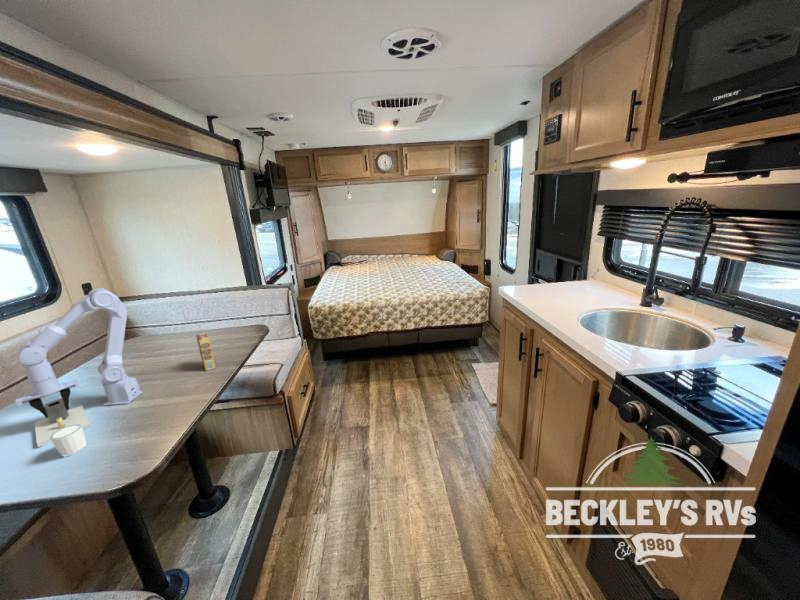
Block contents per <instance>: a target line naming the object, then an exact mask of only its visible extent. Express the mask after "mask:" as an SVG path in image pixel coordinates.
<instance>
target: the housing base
mask: <svg viewBox="0 0 800 600" xmlns="http://www.w3.org/2000/svg"><path fill="white" fill-rule="evenodd" d="M67 411H68V414H69V416H68V417H65V418H62V417H59V418H57V419H56V421H54V422H52V423H51V422H50V420H49V418H46V417H45V418H44V419H43V418H42V419H41V420H38V421H36V422H34V429H35V430H34V431H35V438H36V439H35V440H36V445H37V448H38V447H39V446H41V445H43V444H46V443H48V442H51V440H50V436H51V435H52V434H53V433H55V432H57V431H58V430H60V429H62V428H65V427H67V426H71V425H75V424H81V425H82V428H86V427H88V426H90V427H91V425H90V421H89V418H88V417H87V414H86V411H85V410H84V405H79V406H76V407H73V408H71V409H70V408H69V410H67ZM86 429H87V428H86Z"/></svg>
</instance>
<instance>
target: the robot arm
mask: <svg viewBox="0 0 800 600" xmlns="http://www.w3.org/2000/svg"><path fill="white" fill-rule="evenodd" d="M96 307H97V308H99V309H102V310H105V311H106V312H107V313H109V320H108V327H107V328H108V329H107V334H106V343H105V348H104V349H105V351H104V355H103V357H102V362H101V363H100V364H99V366H98V368H97V371H98V373H99V375H101V377H102V380H101V384H102V387H103V389H104V393H105V394H106V397H107V401H105V402H104V403H103V404H102V406H113V405H114V406H115V405H125V404H126V405H127V404H129V403H130V402H131V401H133V400H134V399H136V398H137V397H138V396H140V395H142V393H143V391H142V390H141V388H140V386H139V382H138V380H137V379H136V378H135V377H133V376H132V377H131V376H129V375H127V373H126V371H125V368H124V367H123V362H124V361H123V350H124V341H125V333H126V325H127V318H128V309H127V307H126V306H125V305H124V303H123V302H122V301H121V299H120V298H119V296H118V295H116V294H115V293H113V292H111V291H109V290H107V288H102V287H97V288H94V289H91V290H90V291H89V292H88V294H85V295H84V296H83V297H81V298H80V299H79V300H78V301H77V302H76V303H75V304H74V305H73V306H71V308H70V309H69V310H68V311H67V312H65V314H64V315H63V316H62V317H61V318H60V319H59V320H58V321H57V322H56V323H55V324H53V325H46V326H45V327H44V328H40V329H39V330H38V333H37V335H35V337H33V338H32V339H31V341H26V342H25V346H23V347H21V348H20V349H19V350H18V353H17V354H18V356H17V357H18V360H19V361H20V363H22V367H23V368H24V372H25V374H26V377H27V379H28V381H29V383H30V385H31V388H32V390H33V392H32V393H28V394H27V395H24V396H22V397H18V398H15V403H16V405H17V407H20V406H23V405H24V404H26V403H28V404H29V406H30V407H32V408H33V409H36V410H37V411H39V412H40V413H41V414H42V415H43V416H44V417H45V419H46V418H48V415H47V413H46V411H45V406H44V403H43V401H42V398H45V397H48V396H52V395H54V394H58V393H59V395H60V396H61V398H62V399H63V401H64V404H65V407H66V409H67V410H70V406H69V403H70V402H69V401H70V396H71V389H72V388H77V387H80V384H79V381H78V379H75V380H71V381H68V382H64V383H59V381H58V379H57V376H56V374H55V372H54V369H53V367H52V365H51V363H50V362H49V361H48V359H47V353H49V352H51V351H52V350H53V349H54V348H55V347H56V346H57V345H59V343H60V342H61V341H62V340H64V338H66V336H67V331H66V330H67V329H69V328H70V327H71V326H72V325H73V324H75V322H77V321H78V320H79V319H80V318H81V317H82V316H83V315H84V314H85V313H89V312H92V311H96V310H97V308H96Z"/></svg>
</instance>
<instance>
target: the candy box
mask: <svg viewBox="0 0 800 600" xmlns="http://www.w3.org/2000/svg"><path fill="white" fill-rule="evenodd" d="M195 337H196V340H197V345H198V350H199V353H200V354H199V355H200V357H201V361H202V365H203V367H204V370H205V371H210V370H214V369H216V364H215V360H214V355H213V351H212V346H211V342H210V338H209V336H208V335H207V333H206V332H203V333H198V334H196V335H195Z"/></svg>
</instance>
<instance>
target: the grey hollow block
mask: <svg viewBox="0 0 800 600" xmlns="http://www.w3.org/2000/svg"><path fill="white" fill-rule="evenodd" d="M43 405H44V407H45V411H46V413H47V415H48V418H49V420H50V422H51V423H52V422H54V421H56V419H57V418H59V417H62V418H65V417H68V416H69V414H68V411H67V409H66V407H65V404H64V401H63V399H62V397H61V398H59V399H56V400H53V401H50V402H47V403H43Z"/></svg>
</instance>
